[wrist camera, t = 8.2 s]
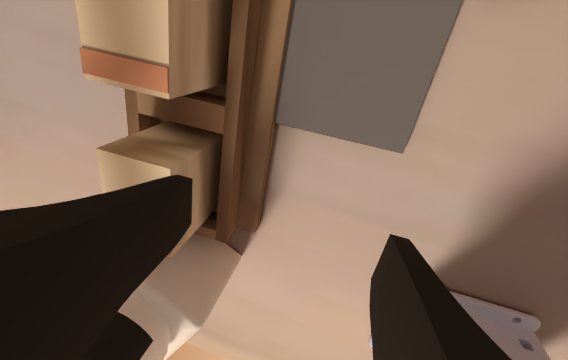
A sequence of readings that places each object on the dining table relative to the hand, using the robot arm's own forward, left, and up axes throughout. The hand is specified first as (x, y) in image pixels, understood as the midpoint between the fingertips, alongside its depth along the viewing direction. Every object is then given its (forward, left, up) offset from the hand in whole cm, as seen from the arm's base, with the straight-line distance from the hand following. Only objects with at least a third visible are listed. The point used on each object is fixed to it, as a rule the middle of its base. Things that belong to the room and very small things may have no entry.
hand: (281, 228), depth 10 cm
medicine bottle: (+9, +12, -10) cm, 18 cm away
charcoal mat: (-1, -6, -9) cm, 11 cm away
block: (+8, +3, -8) cm, 12 cm away
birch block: (+8, -6, -8) cm, 13 cm away
